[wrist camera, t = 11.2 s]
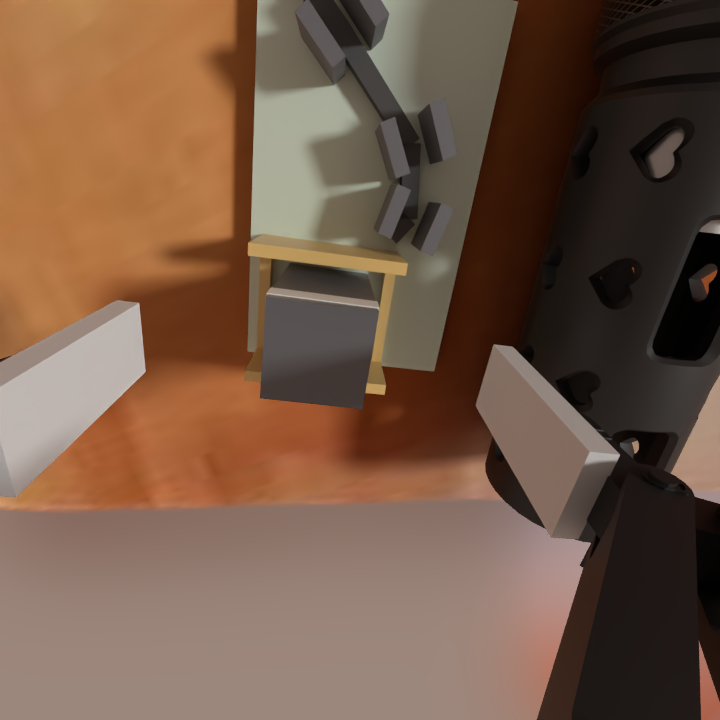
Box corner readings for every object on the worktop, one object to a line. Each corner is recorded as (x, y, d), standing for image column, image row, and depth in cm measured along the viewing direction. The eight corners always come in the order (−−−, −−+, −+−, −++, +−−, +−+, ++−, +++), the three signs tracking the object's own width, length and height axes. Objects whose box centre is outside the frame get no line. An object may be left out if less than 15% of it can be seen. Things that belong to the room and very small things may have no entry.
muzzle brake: (459, 431, 29) (515, 546, 20) (577, -79, 19) (824, -362, 9) (582, 439, 30) (693, 554, 21) (764, -48, 19) (1175, -278, 10)
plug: (289, 261, 23) (264, 295, 16) (368, 272, 23) (380, 311, 16) (283, 336, 25) (258, 399, 17) (356, 345, 25) (363, 410, 18)
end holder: (263, 233, 22) (248, 242, 19) (397, 251, 23) (407, 263, 19) (258, 352, 25) (244, 380, 21) (378, 365, 26) (384, 394, 22)
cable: (287, -24, 18) (284, -34, 17) (353, -59, 18) (354, -71, 17) (388, 244, 23) (390, 246, 22) (442, 221, 22) (446, 222, 22)
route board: (262, -39, 19) (243, -95, 15) (510, 10, 20) (549, -32, 16) (250, 345, 26) (235, 371, 22) (431, 365, 27) (445, 392, 23)
